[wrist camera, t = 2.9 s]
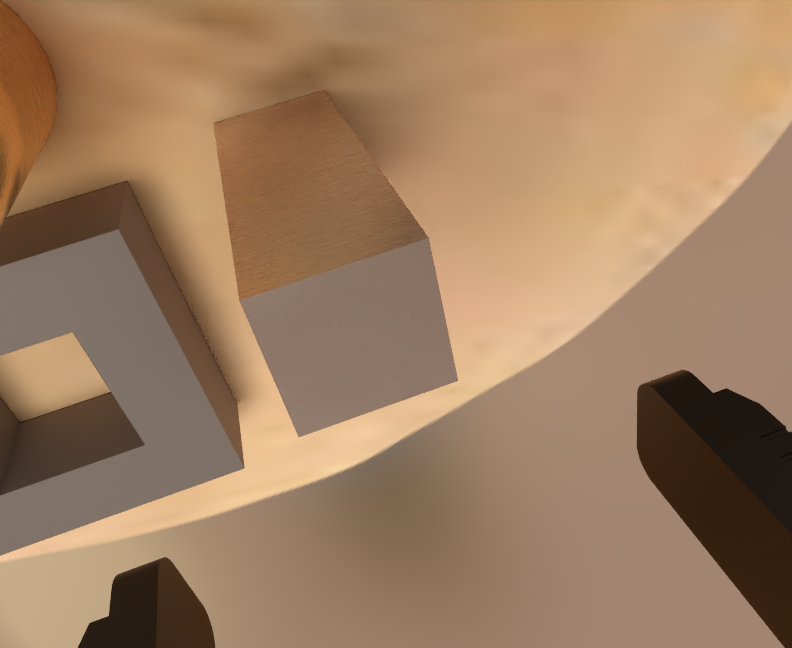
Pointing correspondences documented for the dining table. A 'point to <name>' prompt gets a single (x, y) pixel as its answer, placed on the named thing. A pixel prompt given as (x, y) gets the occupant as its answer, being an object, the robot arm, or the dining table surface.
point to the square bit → (329, 265)
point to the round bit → (22, 104)
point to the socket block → (105, 371)
